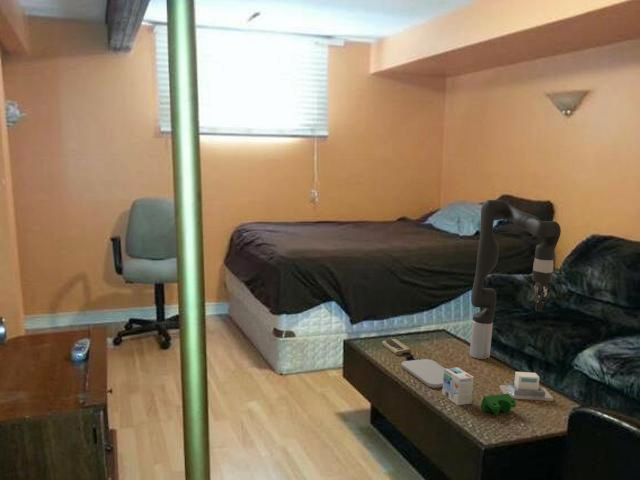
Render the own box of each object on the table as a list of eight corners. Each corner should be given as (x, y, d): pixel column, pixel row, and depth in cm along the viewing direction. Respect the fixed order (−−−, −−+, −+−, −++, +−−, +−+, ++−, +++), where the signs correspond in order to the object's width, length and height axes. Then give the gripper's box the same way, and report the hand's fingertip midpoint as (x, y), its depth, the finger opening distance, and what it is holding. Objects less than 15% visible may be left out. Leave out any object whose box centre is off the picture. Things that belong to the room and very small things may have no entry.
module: (513, 387, 225) (515, 371, 224) (533, 389, 224) (535, 372, 223) (517, 393, 220) (519, 376, 219) (537, 394, 219) (539, 377, 218)
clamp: (491, 426, 202) (489, 409, 198) (482, 415, 208) (479, 398, 203) (519, 412, 205) (517, 395, 200) (509, 402, 210) (506, 385, 206)
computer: (381, 345, 274) (381, 338, 274) (396, 344, 277) (396, 337, 276) (395, 356, 260) (395, 349, 259) (410, 355, 262) (411, 348, 262)
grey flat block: (499, 387, 227) (500, 380, 227) (544, 390, 226) (545, 383, 226) (506, 397, 218) (507, 390, 217) (552, 401, 217) (553, 393, 216)
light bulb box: (441, 394, 218) (443, 368, 217) (455, 392, 221) (457, 366, 219) (457, 405, 208) (459, 378, 207) (472, 403, 211) (474, 376, 209)
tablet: (430, 390, 223) (430, 384, 222) (398, 366, 247) (398, 361, 246) (463, 385, 229) (464, 380, 228) (429, 363, 252) (430, 358, 252)
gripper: (528, 266, 231) (524, 306, 234) (538, 272, 218) (534, 315, 221) (546, 267, 231) (542, 307, 233) (558, 273, 218) (553, 316, 220)
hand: (538, 311), depth 227 cm, fingers closed
